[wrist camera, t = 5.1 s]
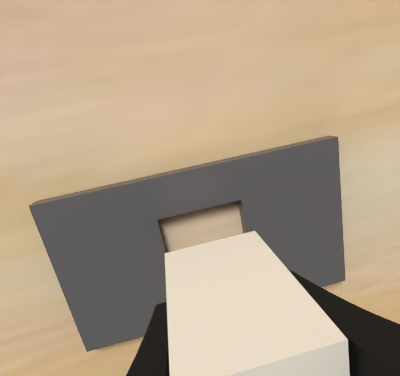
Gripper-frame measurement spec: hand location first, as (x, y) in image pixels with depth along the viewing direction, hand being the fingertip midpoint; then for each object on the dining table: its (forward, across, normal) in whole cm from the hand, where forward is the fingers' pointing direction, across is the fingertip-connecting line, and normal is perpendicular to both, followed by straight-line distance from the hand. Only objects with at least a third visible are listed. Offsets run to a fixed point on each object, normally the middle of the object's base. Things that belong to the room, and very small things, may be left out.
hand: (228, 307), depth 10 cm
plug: (+2, 0, 0) cm, 2 cm away
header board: (+6, 0, 0) cm, 6 cm away
